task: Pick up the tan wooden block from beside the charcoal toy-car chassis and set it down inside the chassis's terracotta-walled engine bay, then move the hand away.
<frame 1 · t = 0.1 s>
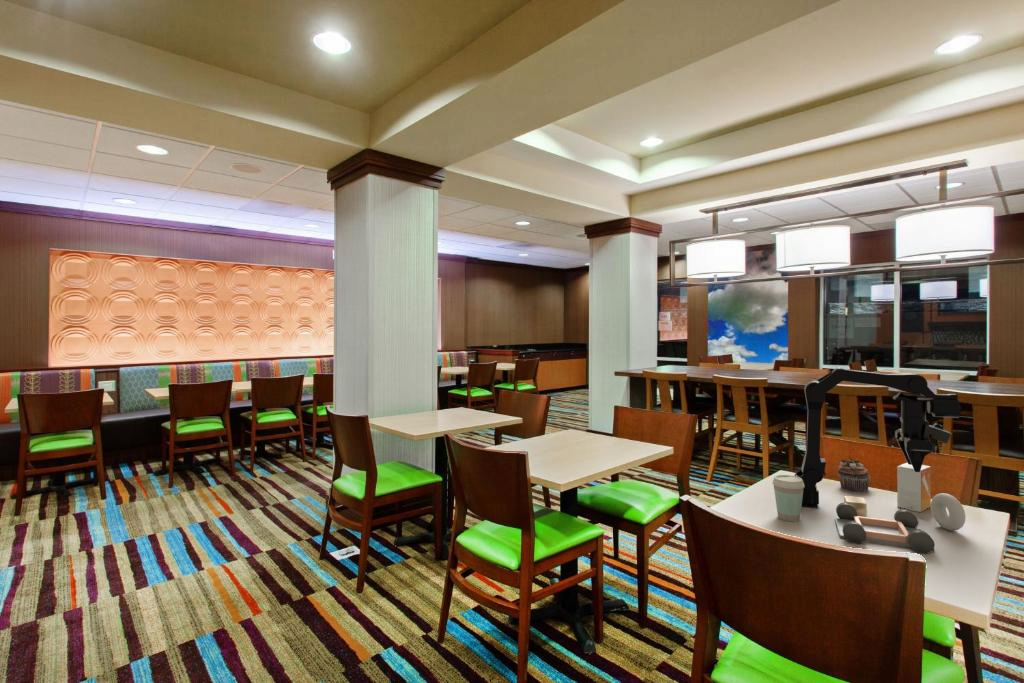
hand: (913, 468, 151), 15 cm above the table, tool pointing down, fingers open, 9 cm apart
chassis: (880, 534, 138), on the table
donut: (947, 530, 141), on the table
coffee cup: (788, 518, 152), on the table
tan wooden block: (855, 514, 154), on the table
cupcake: (854, 489, 179), on the table
small box: (914, 508, 159), on the table
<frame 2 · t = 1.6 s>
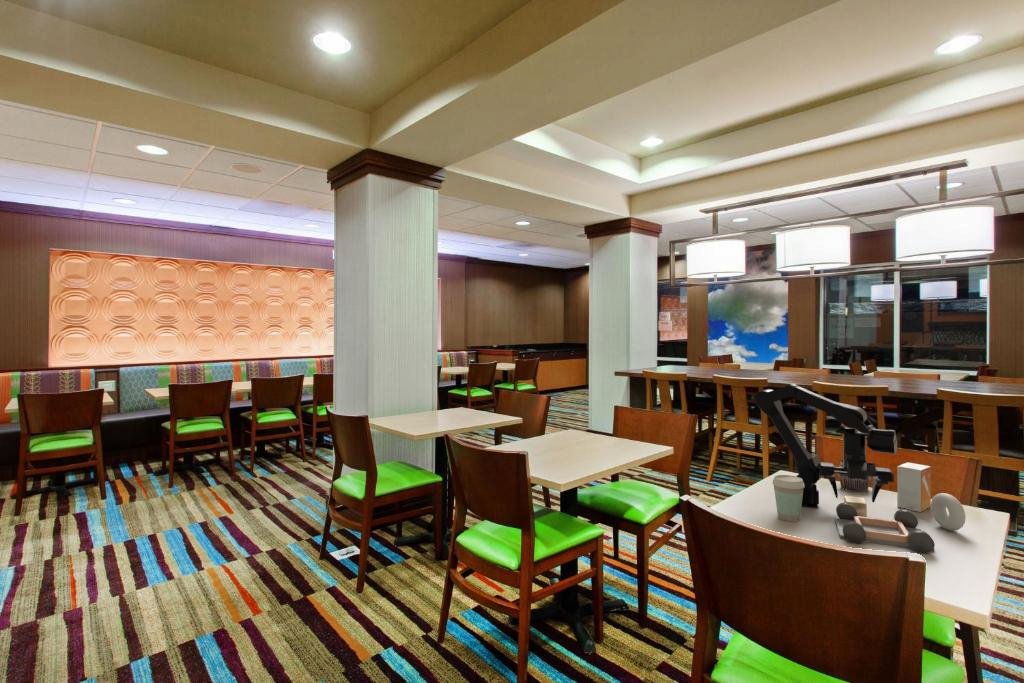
hand: (854, 499, 154), 4 cm above the table, tool pointing down, fingers open, 9 cm apart
nothing on the table moved.
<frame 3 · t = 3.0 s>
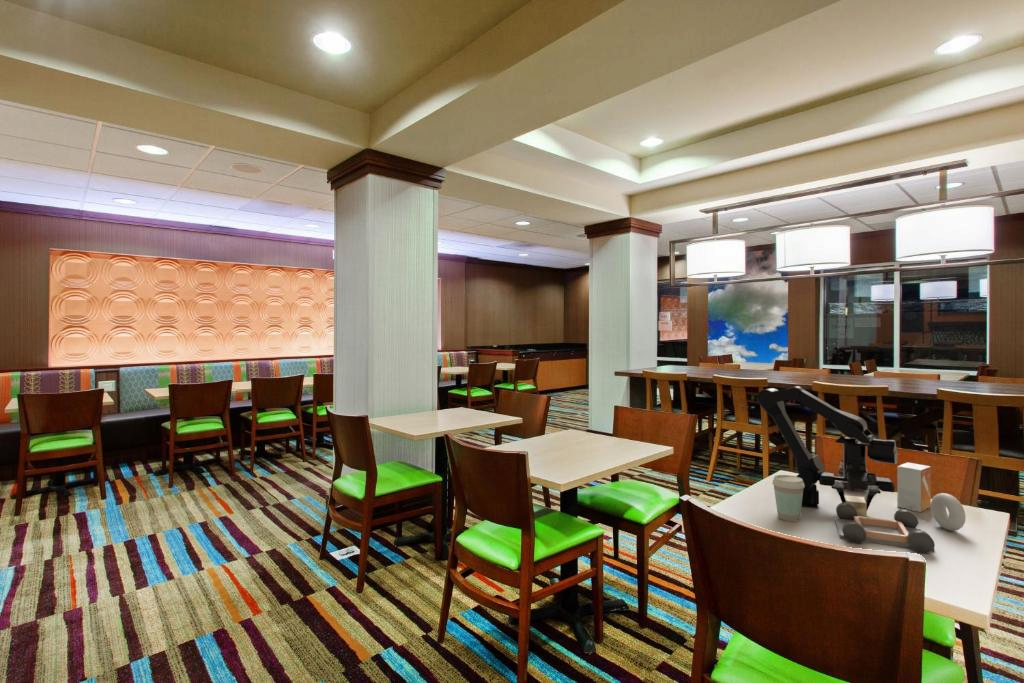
hand: (855, 509, 154), 1 cm above the table, tool pointing down, fingers closed on tan wooden block, 5 cm apart
tan wooden block: (855, 513, 154), on the table, touching gripper
everything else where it was.
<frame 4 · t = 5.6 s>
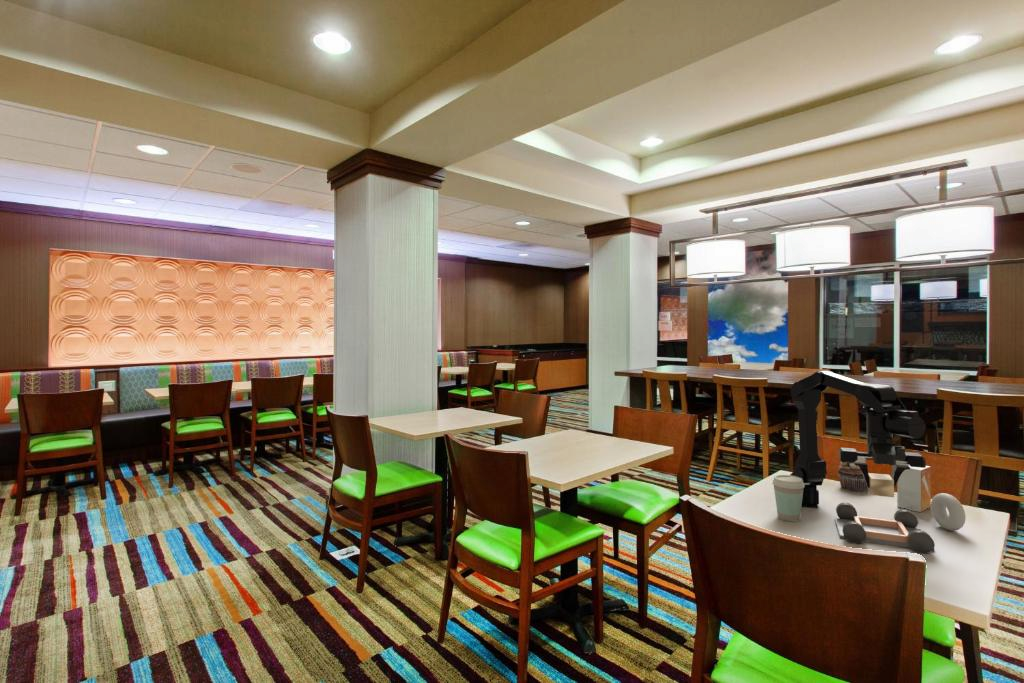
hand: (880, 488, 138), 13 cm above the table, tool pointing down, fingers closed on tan wooden block, 5 cm apart
tan wooden block: (880, 493, 138), point 11 cm above the table, touching gripper
everything else where it was.
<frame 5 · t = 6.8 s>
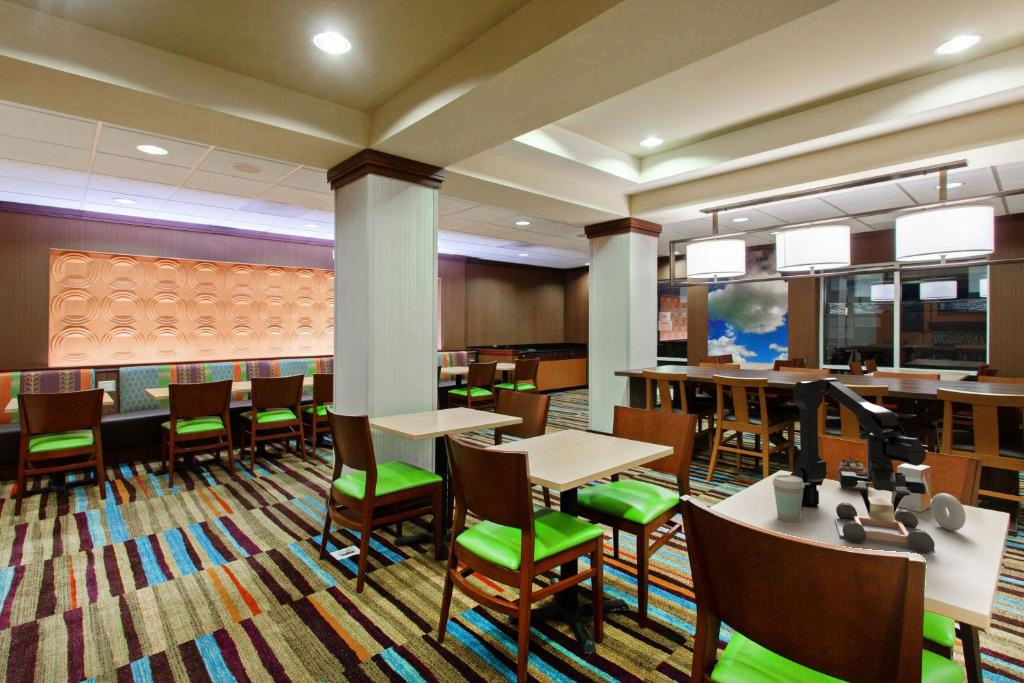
hand: (880, 513, 138), 6 cm above the table, tool pointing down, fingers closed on tan wooden block, 5 cm apart
tan wooden block: (880, 517, 138), point 5 cm above the table, touching gripper
everything else where it was.
when the fingers open (3 cm above the table, at t = 8.1 s): tan wooden block drops 1 cm, resting on chassis.
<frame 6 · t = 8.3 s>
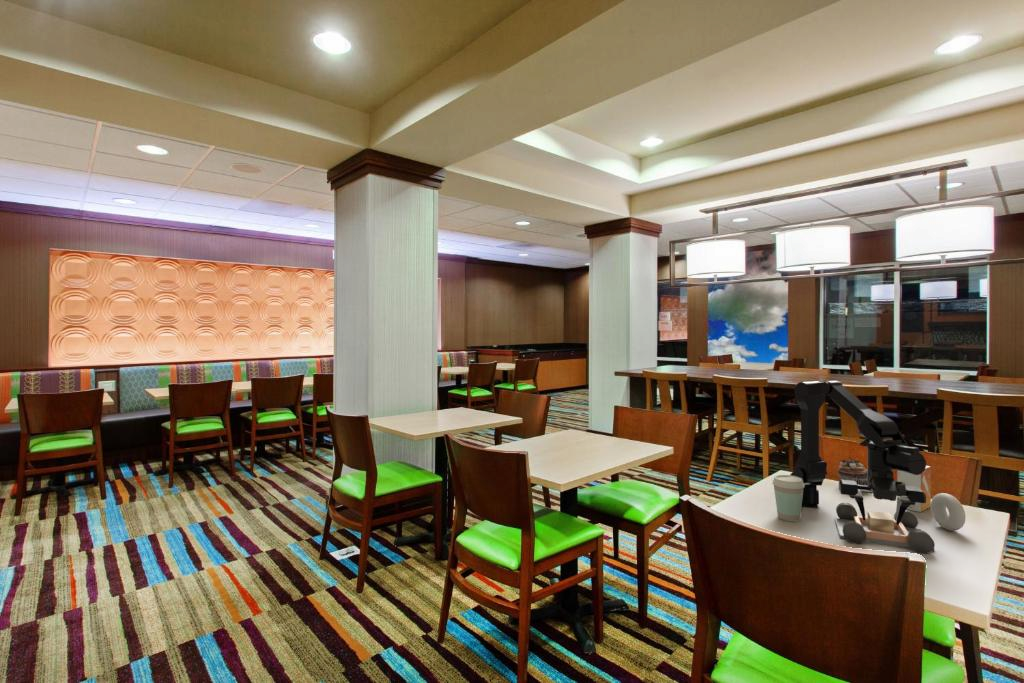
hand: (880, 522, 138), 3 cm above the table, tool pointing down, fingers open, 7 cm apart
tan wooden block: (880, 531, 138), point 1 cm above the table, touching chassis
everything else where it was.
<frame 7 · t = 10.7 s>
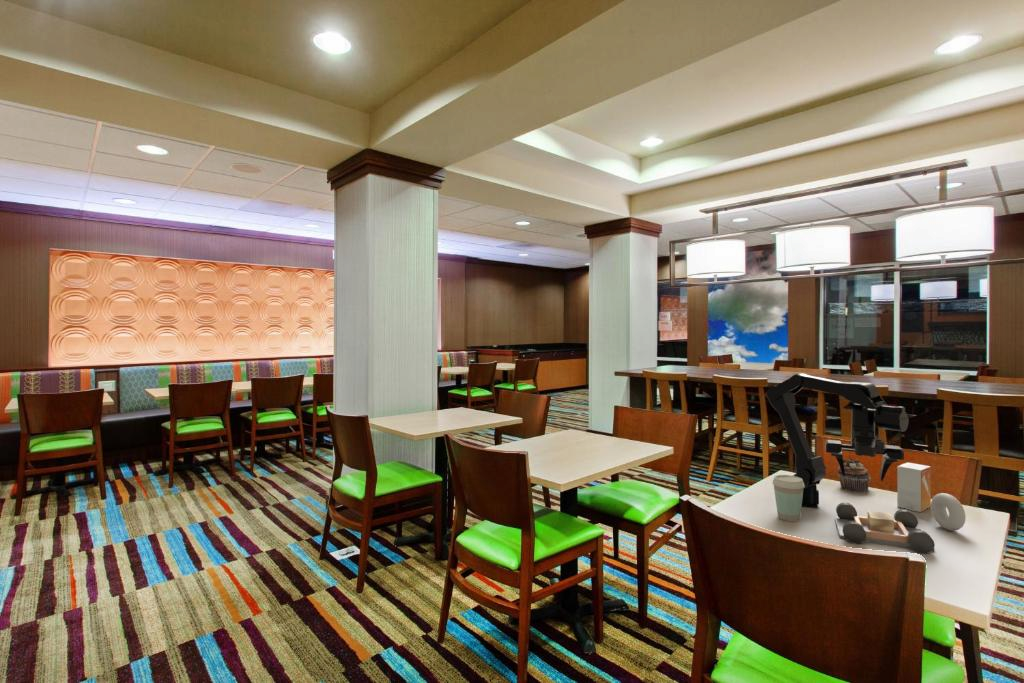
hand: (862, 478, 150), 12 cm above the table, tool pointing down, fingers open, 9 cm apart
nothing on the table moved.
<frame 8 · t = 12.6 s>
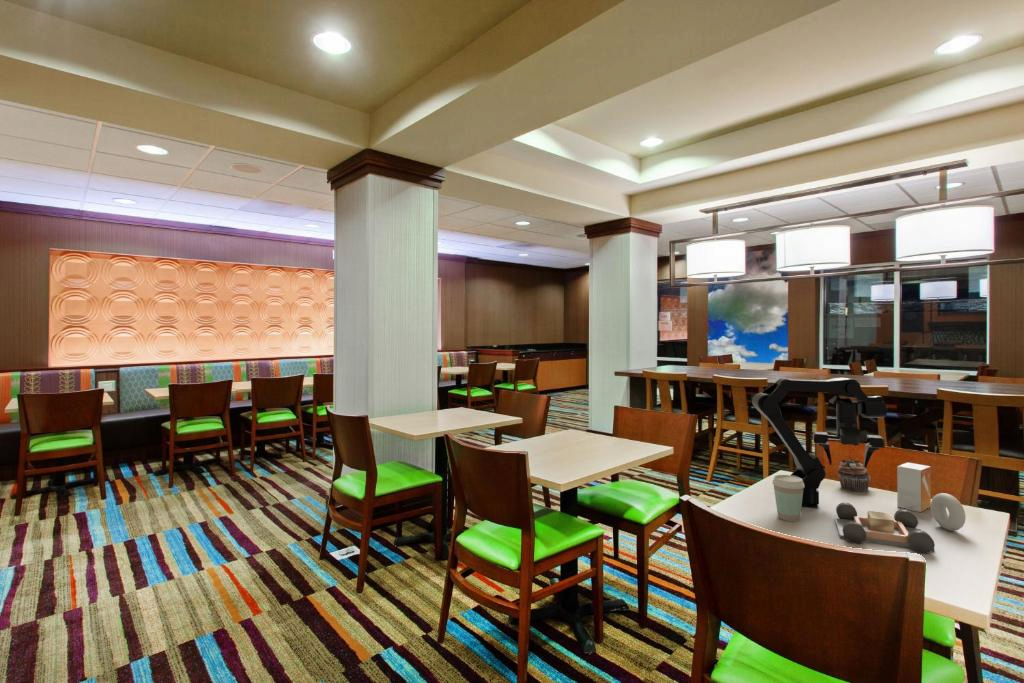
hand: (847, 466, 162), 12 cm above the table, tool pointing down, fingers open, 9 cm apart
nothing on the table moved.
at the end: tan wooden block 0.1 cm off-centre on the chassis, point 0.8 cm above the chassis's base; tan wooden block tilted 0°; the gripper is holding nothing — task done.
